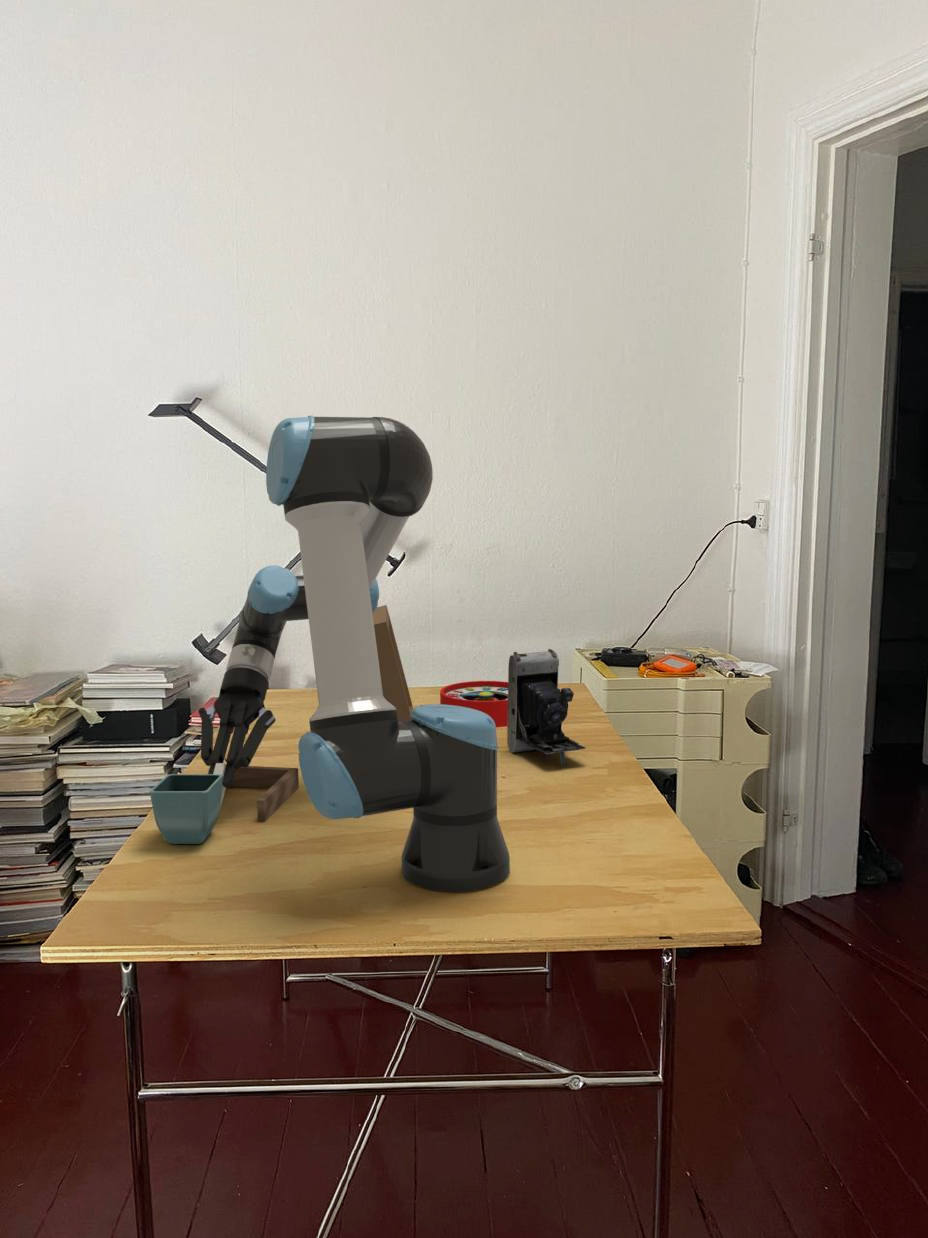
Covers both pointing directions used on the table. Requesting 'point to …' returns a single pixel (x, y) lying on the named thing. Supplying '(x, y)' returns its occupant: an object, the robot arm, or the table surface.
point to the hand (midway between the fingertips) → (213, 804)
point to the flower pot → (187, 806)
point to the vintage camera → (537, 705)
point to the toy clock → (479, 698)
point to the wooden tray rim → (268, 786)
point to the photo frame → (391, 665)
